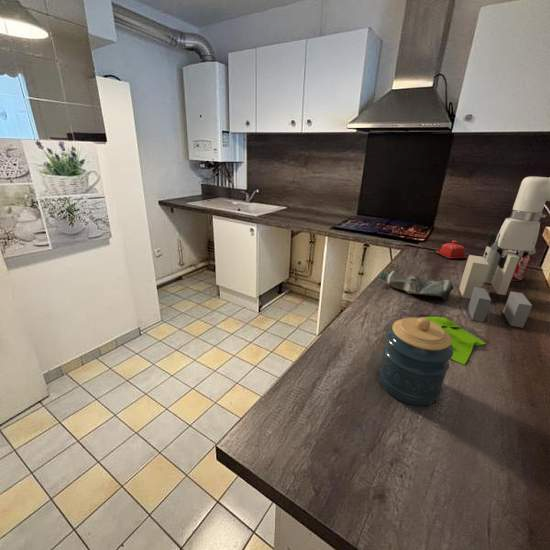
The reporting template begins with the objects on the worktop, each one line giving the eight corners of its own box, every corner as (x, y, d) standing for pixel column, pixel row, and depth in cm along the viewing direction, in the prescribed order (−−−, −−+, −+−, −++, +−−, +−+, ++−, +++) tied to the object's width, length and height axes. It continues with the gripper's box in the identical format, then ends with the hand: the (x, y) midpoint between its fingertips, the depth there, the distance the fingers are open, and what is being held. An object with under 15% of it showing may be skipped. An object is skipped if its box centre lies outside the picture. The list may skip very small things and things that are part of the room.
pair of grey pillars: (513, 316, 96) (522, 293, 93) (522, 330, 88) (532, 305, 85) (467, 307, 101) (474, 285, 98) (471, 320, 93) (479, 296, 90)
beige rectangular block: (473, 290, 114) (483, 256, 108) (477, 300, 106) (489, 264, 101) (459, 288, 115) (468, 254, 110) (462, 297, 108) (473, 262, 102)
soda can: (524, 279, 125) (534, 253, 120) (518, 283, 121) (528, 256, 116) (505, 274, 130) (514, 248, 125) (498, 277, 126) (507, 251, 122)
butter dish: (433, 252, 156) (437, 237, 153) (453, 252, 158) (457, 237, 154) (447, 260, 146) (452, 244, 142) (468, 259, 147) (473, 243, 144)
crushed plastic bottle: (451, 293, 111) (384, 276, 123) (456, 276, 107) (387, 261, 120) (447, 309, 101) (375, 289, 114) (452, 292, 98) (378, 273, 110)
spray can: (483, 276, 127) (498, 232, 119) (498, 283, 121) (515, 236, 113) (472, 278, 125) (486, 233, 117) (487, 285, 119) (503, 237, 111)
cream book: (499, 285, 109) (511, 250, 104) (505, 295, 102) (519, 257, 96) (491, 284, 110) (503, 249, 105) (497, 293, 103) (510, 256, 97)
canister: (453, 400, 63) (477, 330, 56) (403, 413, 59) (421, 341, 52) (411, 361, 74) (426, 300, 67) (367, 370, 71) (378, 307, 64)
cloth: (445, 315, 95) (447, 309, 95) (507, 358, 76) (510, 351, 75) (389, 321, 91) (391, 315, 90) (440, 368, 72) (442, 361, 71)
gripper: (550, 216, 96) (530, 268, 103) (493, 211, 102) (477, 261, 109) (560, 221, 89) (537, 276, 97) (498, 215, 95) (481, 267, 103)
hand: (506, 267), depth 103 cm, fingers closed on cream book, 2 cm apart
